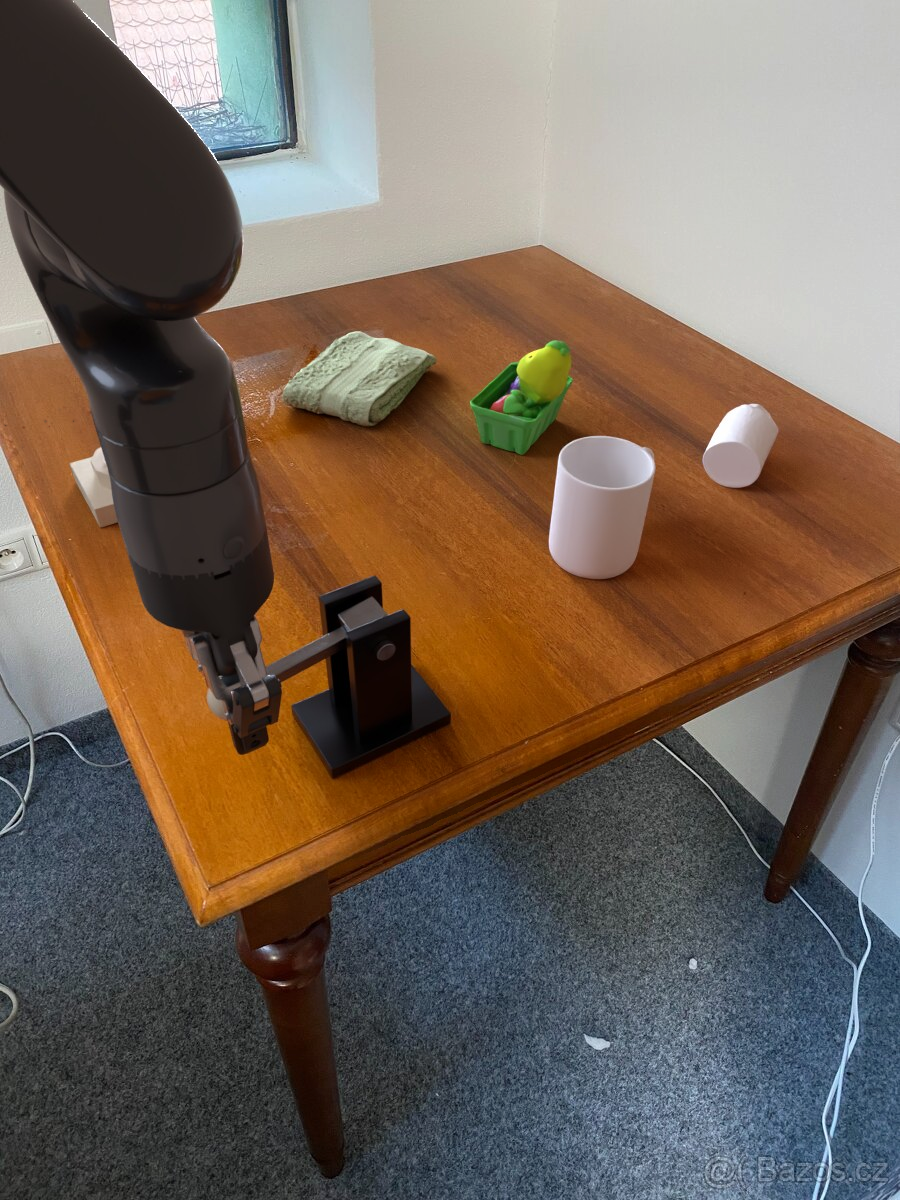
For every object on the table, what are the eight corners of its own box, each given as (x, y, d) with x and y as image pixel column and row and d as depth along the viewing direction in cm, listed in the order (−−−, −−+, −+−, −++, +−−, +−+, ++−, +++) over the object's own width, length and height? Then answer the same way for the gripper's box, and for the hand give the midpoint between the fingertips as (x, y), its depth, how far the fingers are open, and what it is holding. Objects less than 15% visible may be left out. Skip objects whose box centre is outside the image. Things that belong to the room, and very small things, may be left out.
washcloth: (441, 366, 108) (441, 342, 106) (375, 435, 96) (374, 410, 94) (348, 345, 112) (346, 321, 110) (273, 409, 100) (270, 384, 98)
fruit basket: (510, 399, 103) (517, 306, 95) (580, 419, 100) (593, 325, 92) (465, 445, 95) (468, 349, 88) (539, 468, 92) (550, 370, 85)
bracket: (332, 779, 63) (319, 667, 55) (291, 715, 67) (273, 601, 59) (451, 723, 67) (454, 611, 59) (405, 665, 71) (402, 553, 63)
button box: (100, 528, 83) (89, 493, 81) (75, 481, 89) (64, 447, 86) (201, 496, 87) (194, 463, 85) (171, 453, 93) (163, 420, 90)
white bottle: (778, 439, 97) (792, 394, 94) (753, 495, 89) (768, 448, 86) (724, 425, 99) (736, 380, 95) (696, 478, 91) (708, 432, 88)
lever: (226, 739, 57) (210, 710, 54) (208, 706, 59) (192, 677, 56) (397, 645, 61) (390, 614, 58) (375, 617, 63) (367, 587, 60)
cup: (529, 551, 82) (539, 460, 75) (607, 499, 88) (622, 410, 82) (599, 594, 78) (616, 501, 71) (676, 536, 84) (698, 446, 77)
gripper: (89, 481, 50) (153, 682, 62) (171, 629, 42) (227, 829, 53) (214, 445, 53) (252, 643, 65) (314, 575, 45) (338, 777, 56)
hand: (241, 726), depth 59 cm, fingers closed on lever, 3 cm apart
